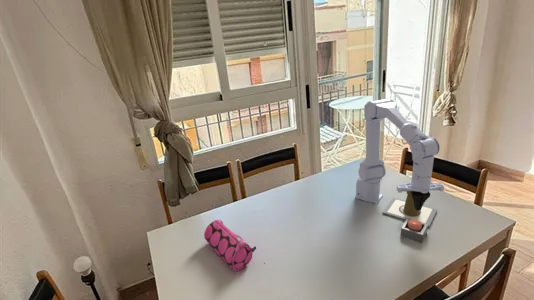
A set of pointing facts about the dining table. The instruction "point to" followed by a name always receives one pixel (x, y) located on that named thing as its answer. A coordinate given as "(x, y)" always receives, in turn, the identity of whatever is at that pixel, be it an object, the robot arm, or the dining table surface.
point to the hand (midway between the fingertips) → (417, 208)
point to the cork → (410, 206)
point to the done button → (415, 225)
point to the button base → (413, 232)
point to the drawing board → (397, 212)
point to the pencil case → (228, 245)
